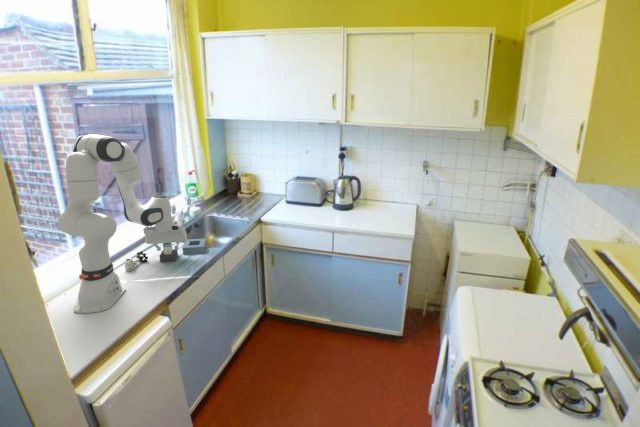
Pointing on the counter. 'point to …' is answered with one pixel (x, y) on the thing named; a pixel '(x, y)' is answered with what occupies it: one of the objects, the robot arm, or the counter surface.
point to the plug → (167, 249)
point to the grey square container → (168, 256)
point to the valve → (134, 261)
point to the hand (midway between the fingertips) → (167, 249)
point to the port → (194, 246)
